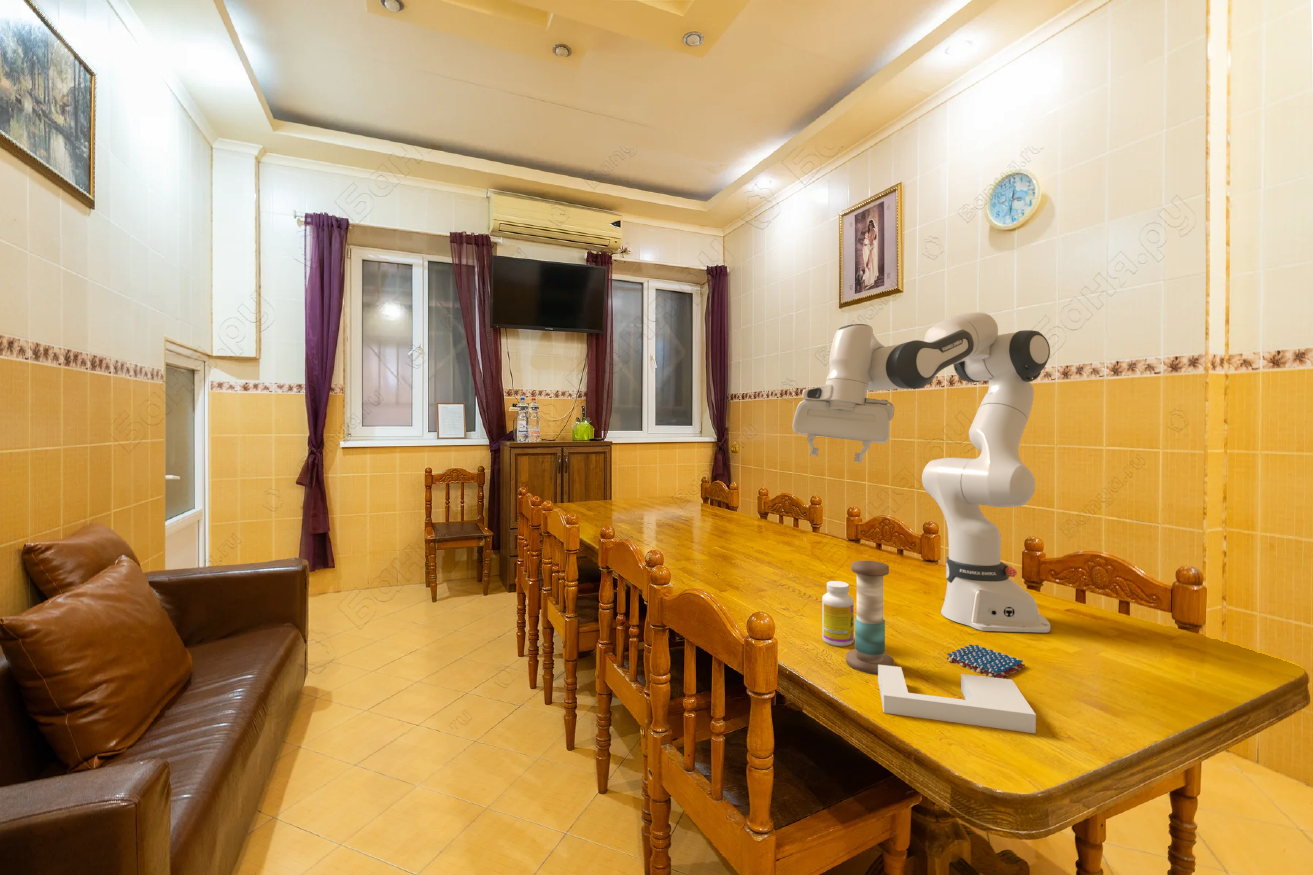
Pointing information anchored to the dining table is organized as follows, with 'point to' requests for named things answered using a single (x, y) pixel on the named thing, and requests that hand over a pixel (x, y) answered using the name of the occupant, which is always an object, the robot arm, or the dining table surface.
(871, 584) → the bobbin
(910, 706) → the notched board
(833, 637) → the supplement bottle
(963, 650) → the woven mat
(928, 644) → the dining table surface
